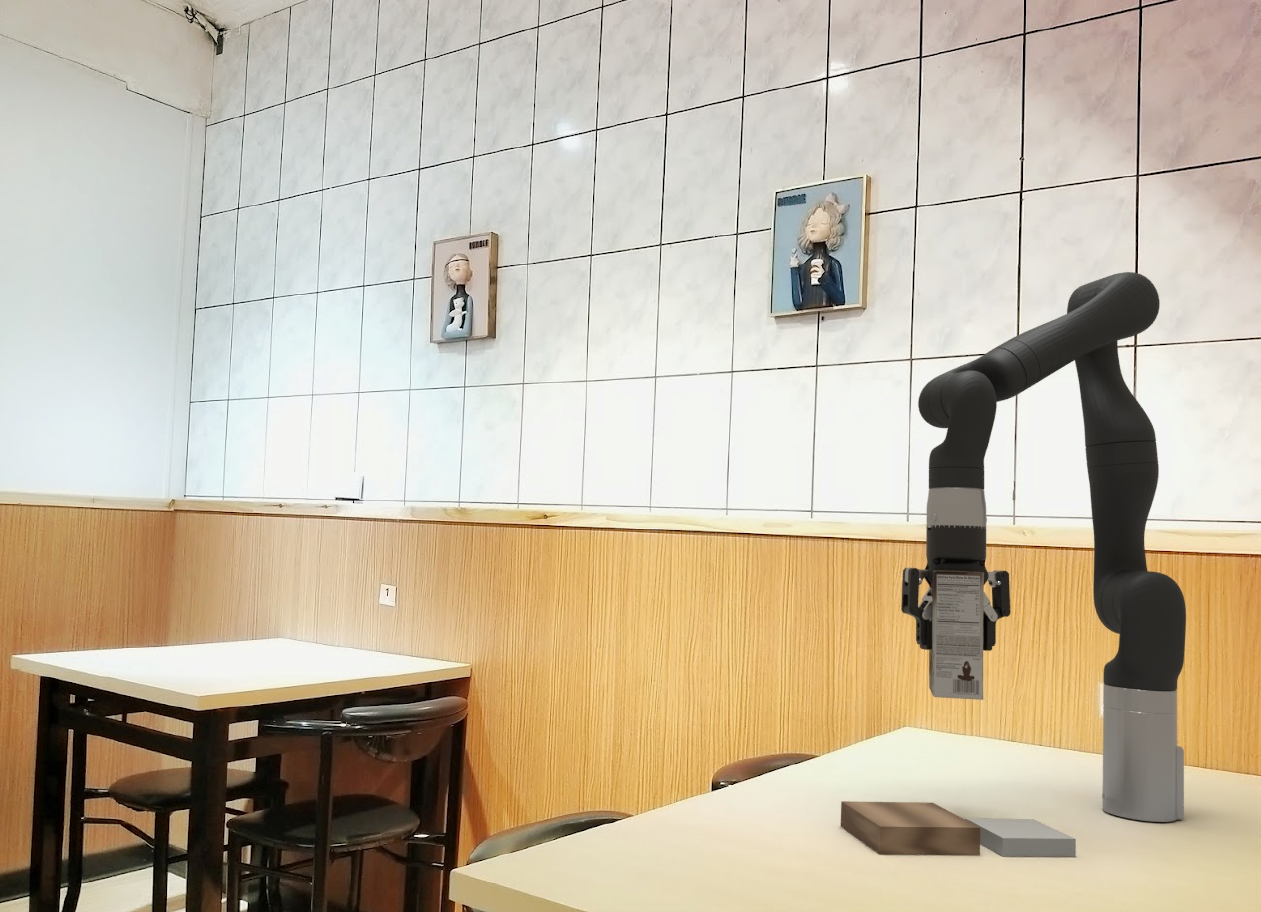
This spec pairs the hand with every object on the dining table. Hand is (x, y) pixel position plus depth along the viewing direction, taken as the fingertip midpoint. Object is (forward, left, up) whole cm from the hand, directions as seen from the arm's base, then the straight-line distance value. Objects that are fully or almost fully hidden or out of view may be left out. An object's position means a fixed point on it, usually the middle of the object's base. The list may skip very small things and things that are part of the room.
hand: (955, 649), depth 136 cm
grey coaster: (-3, +11, -22) cm, 25 cm away
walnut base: (+10, +9, -22) cm, 26 cm away
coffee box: (0, 0, -6) cm, 6 cm away
